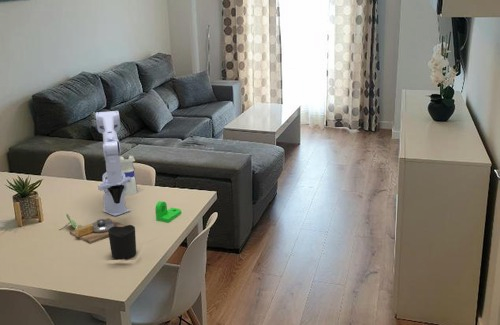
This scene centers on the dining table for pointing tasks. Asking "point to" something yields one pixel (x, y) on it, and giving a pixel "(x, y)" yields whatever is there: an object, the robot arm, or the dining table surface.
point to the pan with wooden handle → (94, 227)
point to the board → (95, 236)
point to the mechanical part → (166, 212)
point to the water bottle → (129, 173)
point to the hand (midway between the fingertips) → (117, 202)
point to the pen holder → (122, 242)
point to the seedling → (71, 222)
